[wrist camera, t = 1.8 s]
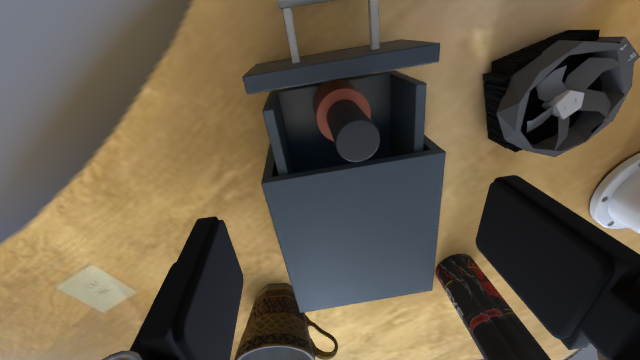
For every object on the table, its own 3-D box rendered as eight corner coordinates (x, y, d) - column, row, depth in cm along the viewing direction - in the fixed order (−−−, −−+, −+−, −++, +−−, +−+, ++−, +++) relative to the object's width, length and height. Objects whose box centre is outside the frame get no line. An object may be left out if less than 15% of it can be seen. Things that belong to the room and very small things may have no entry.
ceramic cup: (250, 320, 43) (239, 393, 34) (240, 277, 38) (225, 350, 30) (330, 313, 44) (339, 382, 35) (330, 270, 39) (341, 339, 30)
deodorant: (430, 265, 40) (494, 377, 27) (467, 248, 39) (553, 356, 26) (442, 286, 43) (507, 397, 30) (478, 270, 42) (561, 378, 29)
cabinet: (270, 141, 29) (261, 183, 21) (404, 118, 29) (446, 151, 21) (298, 252, 37) (300, 313, 29) (402, 234, 37) (432, 290, 29)
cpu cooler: (517, 172, 26) (515, 71, 22) (482, 149, 31) (473, 63, 26) (628, 131, 25) (651, 14, 20) (573, 114, 30) (581, 17, 25)
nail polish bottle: (357, 75, 24) (392, 100, 16) (360, 121, 26) (393, 167, 18) (309, 83, 24) (318, 113, 15) (316, 129, 26) (327, 178, 18)
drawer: (239, -1, 22) (216, -14, 15) (402, -29, 22) (447, -53, 15) (290, 203, 32) (289, 247, 25) (401, 184, 32) (427, 223, 25)
